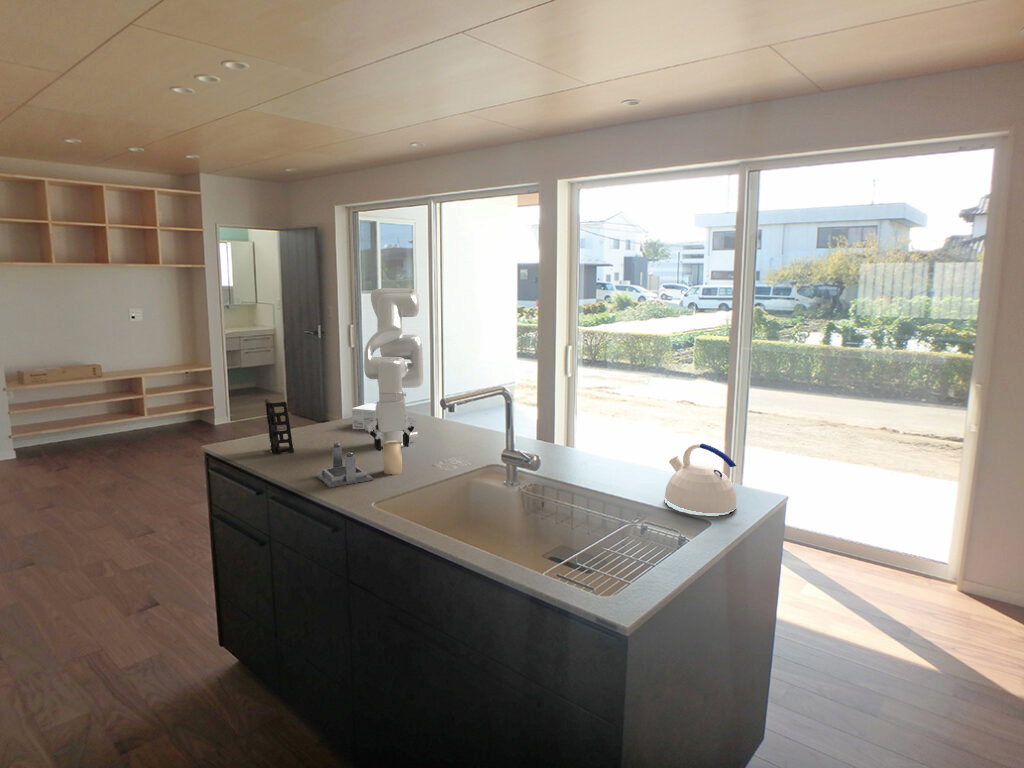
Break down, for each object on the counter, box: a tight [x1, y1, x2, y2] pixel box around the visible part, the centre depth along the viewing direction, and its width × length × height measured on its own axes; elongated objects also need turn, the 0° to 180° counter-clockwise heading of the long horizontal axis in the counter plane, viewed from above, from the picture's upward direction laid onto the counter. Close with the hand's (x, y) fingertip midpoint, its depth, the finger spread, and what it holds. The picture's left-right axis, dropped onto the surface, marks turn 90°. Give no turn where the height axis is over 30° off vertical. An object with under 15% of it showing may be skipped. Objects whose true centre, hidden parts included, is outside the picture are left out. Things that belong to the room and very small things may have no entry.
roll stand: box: [315, 442, 374, 489], centre depth 206 cm, size 14×15×10 cm
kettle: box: [664, 443, 737, 513], centre depth 183 cm, size 20×21×18 cm
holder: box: [264, 398, 295, 455], centre depth 235 cm, size 11×8×20 cm
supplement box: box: [351, 402, 376, 432], centre depth 276 cm, size 17×13×9 cm
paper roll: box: [382, 441, 403, 475], centre depth 213 cm, size 6×6×10 cm
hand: (392, 448), depth 212 cm, fingers open, 9 cm apart
